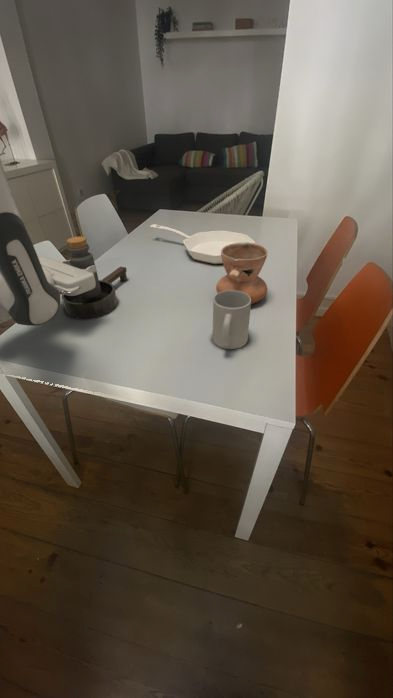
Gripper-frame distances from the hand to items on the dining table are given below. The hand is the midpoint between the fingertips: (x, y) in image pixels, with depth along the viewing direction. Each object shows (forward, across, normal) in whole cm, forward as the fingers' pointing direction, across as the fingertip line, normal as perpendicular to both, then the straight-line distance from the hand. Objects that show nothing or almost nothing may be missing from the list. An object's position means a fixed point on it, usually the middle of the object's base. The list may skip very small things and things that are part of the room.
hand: (85, 264), depth 84 cm
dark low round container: (-1, 0, +12) cm, 12 cm away
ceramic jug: (+27, -33, +12) cm, 44 cm away
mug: (+5, -42, +12) cm, 44 cm away
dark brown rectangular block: (+11, +3, +12) cm, 17 cm away
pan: (+52, 0, +12) cm, 53 cm away
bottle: (-1, 0, +8) cm, 8 cm away
